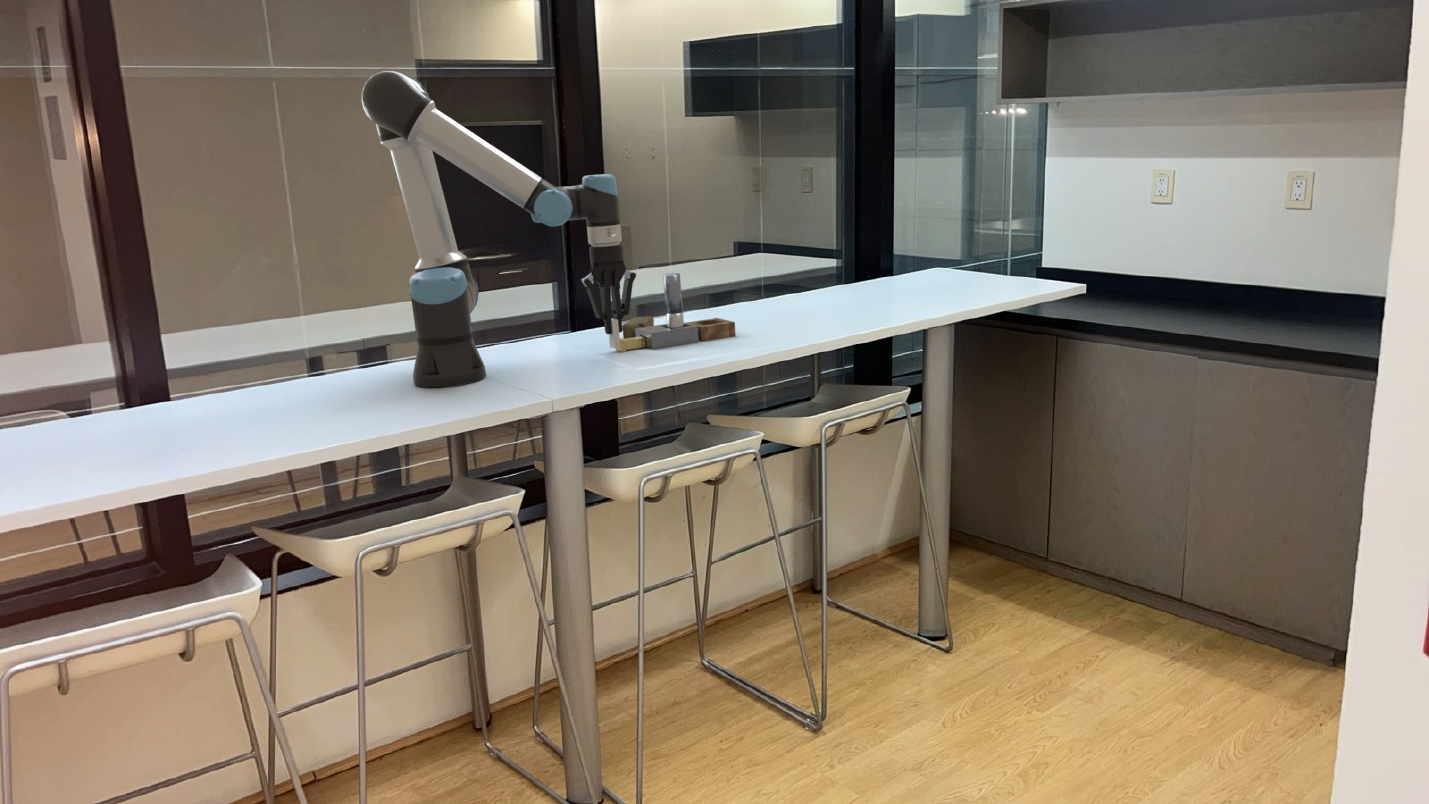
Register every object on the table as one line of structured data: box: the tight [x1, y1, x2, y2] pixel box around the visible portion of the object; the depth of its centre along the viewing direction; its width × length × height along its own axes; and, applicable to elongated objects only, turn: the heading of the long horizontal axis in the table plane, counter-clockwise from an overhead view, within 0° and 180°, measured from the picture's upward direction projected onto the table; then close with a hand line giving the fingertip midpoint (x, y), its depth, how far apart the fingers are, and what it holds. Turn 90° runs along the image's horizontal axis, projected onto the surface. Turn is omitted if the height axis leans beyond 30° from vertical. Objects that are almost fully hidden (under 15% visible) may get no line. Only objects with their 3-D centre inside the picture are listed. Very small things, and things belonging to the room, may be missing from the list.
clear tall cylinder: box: [662, 272, 685, 329], centre depth 249 cm, size 4×4×16 cm
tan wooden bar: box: [615, 336, 647, 353], centre depth 246 cm, size 9×3×3 cm, turn 118°
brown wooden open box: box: [685, 317, 736, 342], centre depth 254 cm, size 9×9×4 cm
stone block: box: [622, 315, 655, 339], centre depth 262 cm, size 6×12×5 cm, turn 170°
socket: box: [635, 322, 700, 351], centre depth 249 cm, size 12×9×4 cm
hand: (615, 347), depth 243 cm, fingers closed
